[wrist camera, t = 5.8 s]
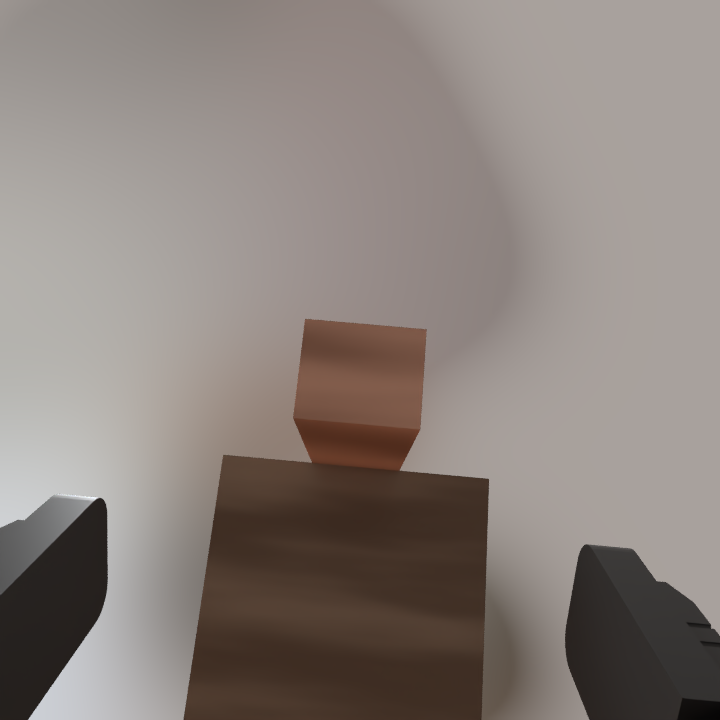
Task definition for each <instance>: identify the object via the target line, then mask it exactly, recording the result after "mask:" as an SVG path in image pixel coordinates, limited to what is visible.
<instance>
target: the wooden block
mask: <svg viewBox="0 0 720 720" xmlns="http://www.w3.org/2000/svg"><path fill="white" fill-rule="evenodd" d="M425 345H426V329H414V328H404V327H392V326H380V325H370V324H358V323H345V322H335V321H324V320H312V319H305V325H304V333H303V342H302V350H301V358H300V367H299V374H298V383H297V391H296V399H295V408H294V416H293V418H294V421H295V423H296V426H297V428H298V430H299V433H300V435H301V437H302V440H303V442H304V445H305V447H306V449H307V452H308V454H309V456H310V459H311V461H312V463H319V464H330V465H341V466H352V467H363V468H374V469H385V470H396V471H399V470H400V468H401V466H402V464H403V462H404V460H405V458H406V456H407V454H408V453H409V451H410V448H411V447H412V445H413V443H414V441H415V439H416V437H417V435H418V433H419V431H420V425H421V409H422V394H423V377H424V361H425Z"/></svg>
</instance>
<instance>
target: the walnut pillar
mask: <svg viewBox="0 0 720 720" xmlns="http://www.w3.org/2000/svg"><path fill="white" fill-rule="evenodd" d="M488 494H489V479H483V478H473V477H462V476H451V475H439V474H429V473H418V472H407V471H396V470H385V469H374V468H363V467H352V466H341V465H330V464H319V463H308V462H296V461H286V460H275V459H264V458H251V457H241V456H230V455H223V460H222V467H221V474H220V480H219V487H218V495H217V500H216V507H215V514H214V520H213V527H212V534H211V540H210V548H209V554H208V560H207V567H206V574H205V580H204V587H203V594H202V600H201V607H200V614H199V620H198V627H197V634H196V641H195V647H194V654H193V660H192V667H191V674H190V681H189V687H188V694H187V701H186V707H185V714H184V720H481V714H482V684H483V651H484V621H485V589H486V556H487V524H488Z"/></svg>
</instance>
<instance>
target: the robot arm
mask: <svg viewBox="0 0 720 720" xmlns="http://www.w3.org/2000/svg"><path fill="white" fill-rule="evenodd" d="M107 571H108V565H107V508H106V504H105V501H104V500H103V499H102V498H96V497H85V496H75V495H64V494H56V495H54V496H52V497H51V498H50V499H49V500H48V501H46V502H45V503H44V504H43V505H42V506H41V507H39V508H38V509H37V510H36V511H35V512H34V513H32V514H31V515H30V516H29V517H28V518H27V519H26V520H17V521H14V522H13V523H10V524H8V525H6V526H4V527H1V528H0V720H28V719H29V717H30V716H31V715H32V713H33V711H34V710H35V709H36V707H37V706H38V704H39V703H40V702H41V700H42V699H43V697H44V696H45V694H46V693H47V692H48V690H49V689H50V687H51V686H52V684H53V683H54V681H55V680H56V679H57V677H58V676H59V674H60V673H61V672H62V670H63V669H64V667H65V666H66V664H67V663H68V661H69V660H70V658H71V657H72V656H73V654H74V653H75V651H76V650H77V648H78V647H79V646H80V644H81V643H82V641H83V640H84V638H85V637H86V636H87V634H88V633H89V631H90V630H91V629H92V627H93V626H94V624H95V623H96V621H97V620H98V617H99V616H100V613H101V611H102V608H103V605H104V601H105V597H106V592H107V582H108V581H107V580H108V577H107V575H108V574H107V573H108V572H107ZM565 648H566V657H567V662H568V666H569V669H570V672H571V674H572V677H573V680H574V682H575V685H576V687H577V690H578V692H579V695H580V697H581V700H582V702H583V705H584V707H585V710H586V712H587V715H588V717H589V719H590V720H720V636H719V634H718V633H717V632H716V631H715V629H711V624H710V623H709V622H708V620H707V619H706V618H705V617H704V615H703V614H702V613H701V612H700V610H699V609H698V607H697V606H696V605H695V604H694V603H693V602H692V601H691V600H689V599H688V598H687V597H685V596H684V595H683V594H681V593H680V592H679V591H677V590H676V589H674V588H673V587H672V586H670V585H669V584H668V583H666V582H657V581H656V580H655V579H654V577H653V576H652V574H651V573H650V572H649V570H648V569H647V568H646V566H645V565H644V563H643V562H642V561H641V559H640V558H639V556H638V555H637V554H636V552H635V551H634V550H632V549H629V548H619V547H607V546H597V545H584V546H583V547H582V549H581V551H580V553H579V557H578V562H577V567H576V573H575V579H574V585H573V590H572V596H571V601H570V607H569V613H568V619H567V624H566V634H565Z"/></svg>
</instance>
